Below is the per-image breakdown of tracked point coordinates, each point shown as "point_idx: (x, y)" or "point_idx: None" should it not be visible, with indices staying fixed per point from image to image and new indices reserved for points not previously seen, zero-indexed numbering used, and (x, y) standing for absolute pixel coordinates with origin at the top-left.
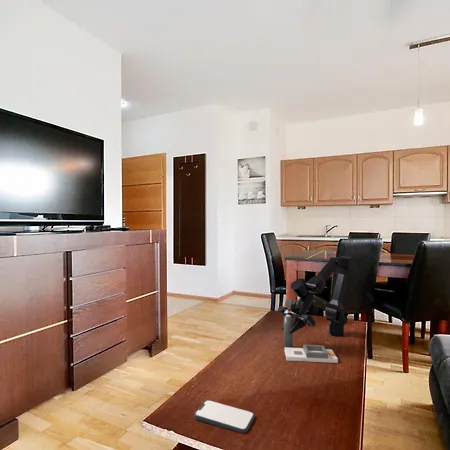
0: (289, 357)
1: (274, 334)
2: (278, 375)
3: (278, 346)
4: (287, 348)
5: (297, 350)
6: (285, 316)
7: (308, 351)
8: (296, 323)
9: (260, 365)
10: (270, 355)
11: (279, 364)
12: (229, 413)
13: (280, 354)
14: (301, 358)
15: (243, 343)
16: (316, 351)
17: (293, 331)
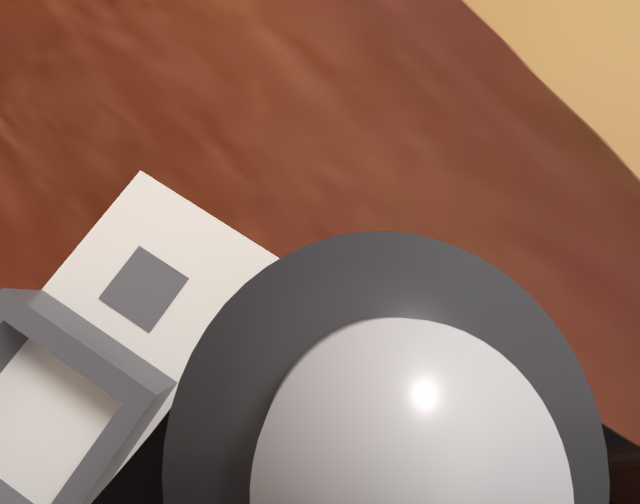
0: (131, 187)
1: (609, 407)
2: (39, 31)
3: None
4: (255, 268)
5: (183, 316)
6: (477, 335)
7: (8, 322)
8: (109, 482)
9: (187, 19)
10: (270, 138)
11: (138, 111)
12: None
13: (251, 203)
14: (74, 257)
15: (507, 96)
16: (76, 463)
17: None
